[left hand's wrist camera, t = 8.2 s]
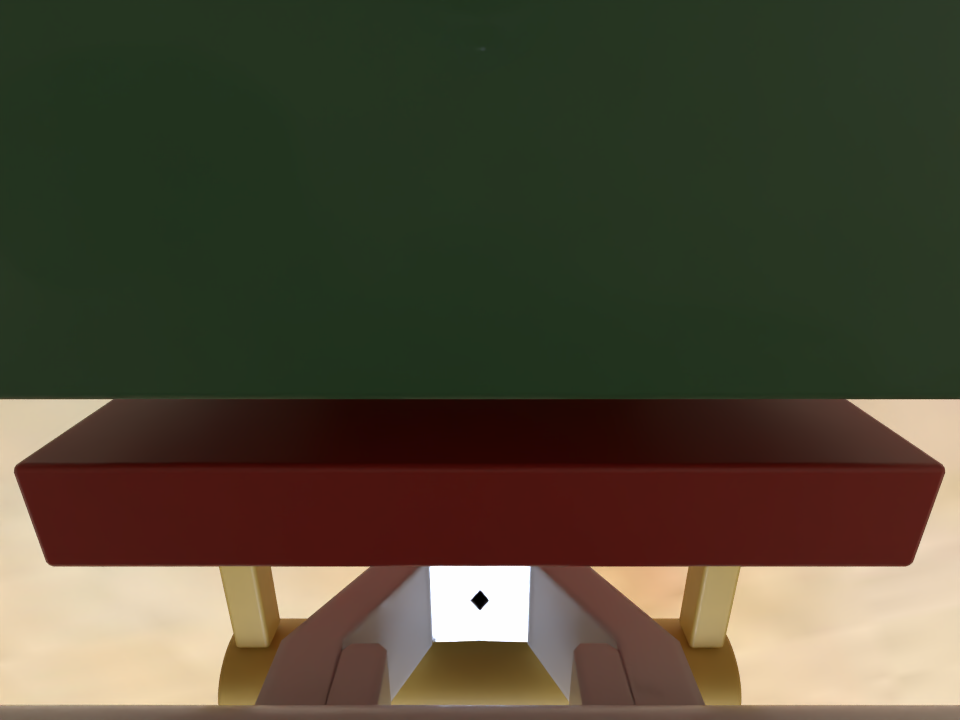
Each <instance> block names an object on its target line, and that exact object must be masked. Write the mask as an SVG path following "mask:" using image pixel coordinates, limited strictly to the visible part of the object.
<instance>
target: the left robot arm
mask: <svg viewBox="0 0 960 720" xmlns="http://www.w3.org/2000/svg"><path fill="white" fill-rule="evenodd" d="M479 640H480V641H515V642H528V645H529V647H530V648H531V649H532V651H533V652H534V654H535V655H536V656H537V658H538V659H539V660H540V662H541V663H542V665H543V666H544V667H545V669H546V670H547V672H548V673H549V674H550V676H551V677H552V679H553V680H554V681H555V683H556V684H557V686H558V687H559V688H560V690H561V691H562V692H563V694H564V695H565V697H566V698H567V699H568V701H569V705H391V701H392V700H393V698H394V697H395V696H396V694H397V693H398V691H399V690H400V689H401V687H402V686H403V685H404V683H405V682H406V680H407V679H408V678H409V676H410V675H411V673H412V672H413V671H414V669H415V668H416V667H417V665H418V664H419V662H420V661H421V660H422V658H423V657H424V655H425V654H426V653H427V651H428V650H429V649H430V647H431V646H432V642H445V641H479ZM0 720H960V705H705V703H704V700H703V698H702V696H701V693H700V691H699V688H698V686H697V683H696V681H695V678H694V676H693V674H692V671H691V669H690V666H689V664H688V661H687V659H686V656H685V654H684V651H683V649H682V647H681V644H680V642H679V641H678V640H677V639H676V638H675V637H673V636H672V635H671V634H670V633H669V632H667V631H666V630H665V629H664V628H663V627H661V626H660V625H659V624H658V623H657V622H655V621H654V620H653V619H652V618H651V617H649V616H648V615H647V614H646V613H645V612H643V611H642V610H641V609H640V608H639V607H637V606H636V605H635V604H634V603H633V602H631V601H630V600H629V599H628V598H627V597H625V596H624V595H623V594H622V593H621V592H619V591H618V590H617V589H616V588H615V587H613V586H612V585H611V584H610V583H609V582H607V581H606V580H605V579H604V578H603V577H602V576H600V575H599V574H598V573H597V572H596V571H594V570H593V569H592V568H591V567H590V566H370V567H369V568H368V569H367V570H366V571H364V572H363V573H362V574H361V575H360V576H358V577H357V578H356V579H355V580H354V581H352V582H351V583H350V584H349V585H348V586H346V587H345V588H344V589H343V590H342V591H340V592H339V593H338V594H337V595H336V596H334V597H333V598H332V599H331V600H330V601H328V602H327V603H326V604H325V605H324V606H322V607H321V608H320V609H319V610H318V611H316V612H315V613H314V614H313V615H312V616H310V617H309V618H308V619H307V620H306V621H304V622H303V623H302V624H301V625H300V626H298V627H297V628H296V629H295V630H293V631H292V632H291V633H290V634H289V635H287V636H286V637H285V638H284V639H283V640H281V642H280V645H279V647H278V650H277V652H276V654H275V657H274V659H273V662H272V664H271V667H270V669H269V671H268V674H267V676H266V679H265V681H264V683H263V686H262V688H261V691H260V693H259V696H258V698H257V700H256V703H255V705H0Z"/></svg>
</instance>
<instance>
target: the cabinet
mask: <svg viewBox="0 0 960 720" xmlns="http://www.w3.org/2000/svg"><path fill="white" fill-rule="evenodd" d="M0 399H960V0H0Z"/></svg>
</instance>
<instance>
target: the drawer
mask: <svg viewBox="0 0 960 720" xmlns="http://www.w3.org/2000/svg"><path fill="white" fill-rule="evenodd" d="M14 474H15V476H16V479H17V482H18V485H19V488H20V490H21V493H22V496H23V499H24V501H25V504H26V507H27V510H28V513H29V515H30V518H31V521H32V524H33V526H34V529H35V532H36V535H37V537H38V540H39V543H40V546H41V549H42V551H43V554H44V557H45V560H46V562H47V563H48V564H49V565H51V566H219V568H220V573H221V578H222V582H223V587H224V591H225V596H226V601H227V605H228V610H229V614H230V619H231V624H232V628H233V633H234V634H233V636H232V638H231V640H230V642H229V645H228V647H227V650H226V653H225V657H224V660H223V664H222V668H221V674H220V680H219V689H218V705H255V703H256V700H257V698H258V696H259V693H260V691H261V688H262V686H263V683H264V681H265V679H266V676H267V674H268V671H269V669H270V667H271V664H272V662H273V659H274V657H275V654H276V652H277V650H278V647H279V645H280V642H281V640H283V639H284V638H285V637H286V636H287V635H289V634H290V633H291V632H292V631H293V630H295V629H296V628H297V627H298V626H300V625H301V624H302V623H303V622H304V621H306V620H307V619H280V617H279V612H278V606H277V600H276V594H275V589H274V583H273V577H272V572H271V566H689V568H688V573H687V579H686V585H685V591H684V596H683V602H682V608H681V614H680V619H653V620H654V621H655V622H657V623H658V624H659V625H660V626H661V627H663V628H664V629H665V630H666V631H667V632H669V633H670V634H671V635H672V636H673V637H675V638H676V639H677V640H678V641H679V642H680V644H681V647H682V649H683V651H684V654H685V656H686V659H687V661H688V664H689V666H690V669H691V671H692V674H693V676H694V678H695V681H696V683H697V686H698V688H699V691H700V693H701V696H702V698H703V700H704V703H705V705H741V684H740V677H739V671H738V666H737V662H736V658H735V655H734V652H733V649H732V646H731V644H730V641H729V639H728V637H727V635H726V631H727V627H728V622H729V618H730V613H731V608H732V604H733V599H734V595H735V590H736V585H737V581H738V576H739V572H740V567H741V566H908V565H910V564H911V563H912V562H913V560H914V558H915V555H916V552H917V549H918V546H919V544H920V541H921V538H922V535H923V533H924V530H925V527H926V524H927V521H928V519H929V516H930V513H931V510H932V508H933V505H934V502H935V499H936V496H937V494H938V491H939V488H940V485H941V483H942V480H943V477H944V474H945V468H944V466H943V465H942V464H941V463H939V462H938V461H936V460H935V459H933V458H932V457H931V456H929V455H928V454H926V453H925V452H923V451H922V450H920V449H919V448H917V447H916V446H914V445H913V444H911V443H910V442H908V441H907V440H905V439H904V438H902V437H901V436H900V435H898V434H897V433H895V432H894V431H892V430H891V429H889V428H888V427H886V426H885V425H883V424H882V423H880V422H879V421H877V420H876V419H874V418H873V417H871V416H870V415H869V414H867V413H866V412H864V411H863V410H861V409H860V408H858V407H857V406H855V405H854V404H852V403H851V402H849V401H848V400H846V399H113V400H111V401H110V402H109V403H107V404H106V405H104V406H103V407H101V408H100V409H98V410H97V411H95V412H94V413H92V414H91V415H89V416H88V417H86V418H85V419H83V420H82V421H80V422H79V423H77V424H76V425H75V426H73V427H72V428H70V429H69V430H67V431H66V432H64V433H63V434H61V435H60V436H58V437H57V438H55V439H54V440H52V441H51V442H49V443H48V444H46V445H45V446H43V447H42V448H40V449H39V450H38V451H36V452H35V453H33V454H32V455H30V456H29V457H27V458H26V459H24V460H23V461H21V462H20V463H18V464H17V465H16V467H15V469H14ZM391 705H569V701H568V699H567V698H566V697H565V695H564V694H563V692H562V691H561V690H560V688H559V687H558V686H557V684H556V683H555V681H554V680H553V679H552V677H551V676H550V674H549V673H548V672H547V670H546V669H545V667H544V666H543V665H542V663H541V662H540V660H539V659H538V658H537V656H536V655H535V654H534V652H533V651H532V649H531V648H530V647H529V645H528V642H515V641H480V640H479V641H445V642H432V646H431V647H430V649H429V650H428V651H427V653H426V654H425V655H424V657H423V658H422V660H421V661H420V662H419V664H418V665H417V667H416V668H415V669H414V671H413V672H412V673H411V675H410V676H409V678H408V679H407V680H406V682H405V683H404V685H403V686H402V687H401V689H400V690H399V691H398V693H397V694H396V696H395V697H394V698H393V700H392V701H391Z"/></svg>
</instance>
